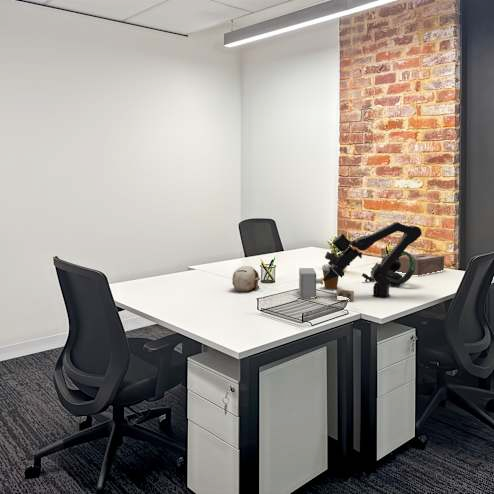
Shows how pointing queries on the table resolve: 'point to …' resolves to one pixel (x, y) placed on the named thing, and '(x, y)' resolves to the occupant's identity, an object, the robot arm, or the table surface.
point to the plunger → (319, 281)
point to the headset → (392, 275)
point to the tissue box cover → (423, 263)
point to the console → (307, 282)
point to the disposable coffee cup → (331, 282)
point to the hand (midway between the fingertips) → (323, 280)
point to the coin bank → (245, 279)
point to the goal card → (346, 294)
